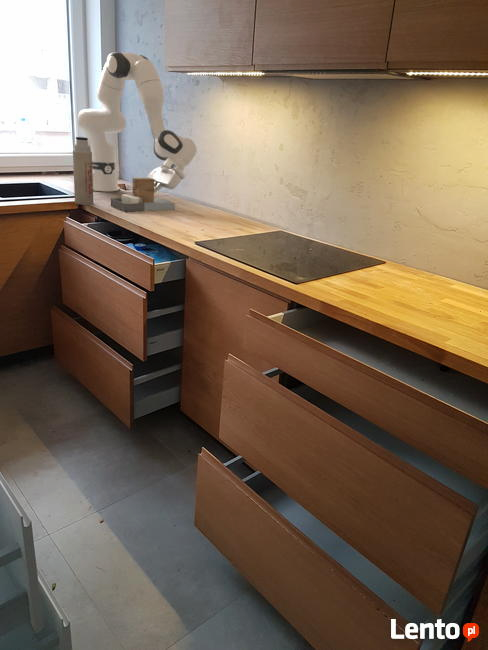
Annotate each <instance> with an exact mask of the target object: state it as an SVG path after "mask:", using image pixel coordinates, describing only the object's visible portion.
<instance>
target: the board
mask: <svg viewBox="0 0 488 650" xmlns="http://www.w3.org/2000/svg"><path fill="white" fill-rule="evenodd" d="M175 204H176V203H175V202H173V201H170V200H168V199H165V198H161V197H157V198H155V197H154V202H144V211H143V212H147V211H146V210H152V211H167V210H168V211H169V210H171V211H172V210H175V208H176V207H175V206H176V205H175Z"/></svg>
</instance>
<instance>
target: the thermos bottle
mask: <svg viewBox="0 0 488 650" xmlns="http://www.w3.org/2000/svg"><path fill="white" fill-rule="evenodd" d="M75 139H76V140H75V141H76V142H75V144H74V146H73V147H74V150H72V159H73V160H72V164H73V168H72V169H73V186H74V187H73V189H74V190H73V191H74V203H75V204H77V205H85V206H86V205H87V206H88V205H93V204H94V190H93V169H92V152H91V145H89V138H88V137H84V136H76V137H75Z"/></svg>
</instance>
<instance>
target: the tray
mask: <svg viewBox="0 0 488 650" xmlns="http://www.w3.org/2000/svg"><path fill="white" fill-rule="evenodd" d="M110 207H111V208H113V209H114V208H115V209H116V210H119V211H121V212H124V213H133V212H135V211H139V212H145V211H144V203H132V204H125V203H122V197H115V198H114V197H113V198H110ZM135 213H136V212H135Z"/></svg>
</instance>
